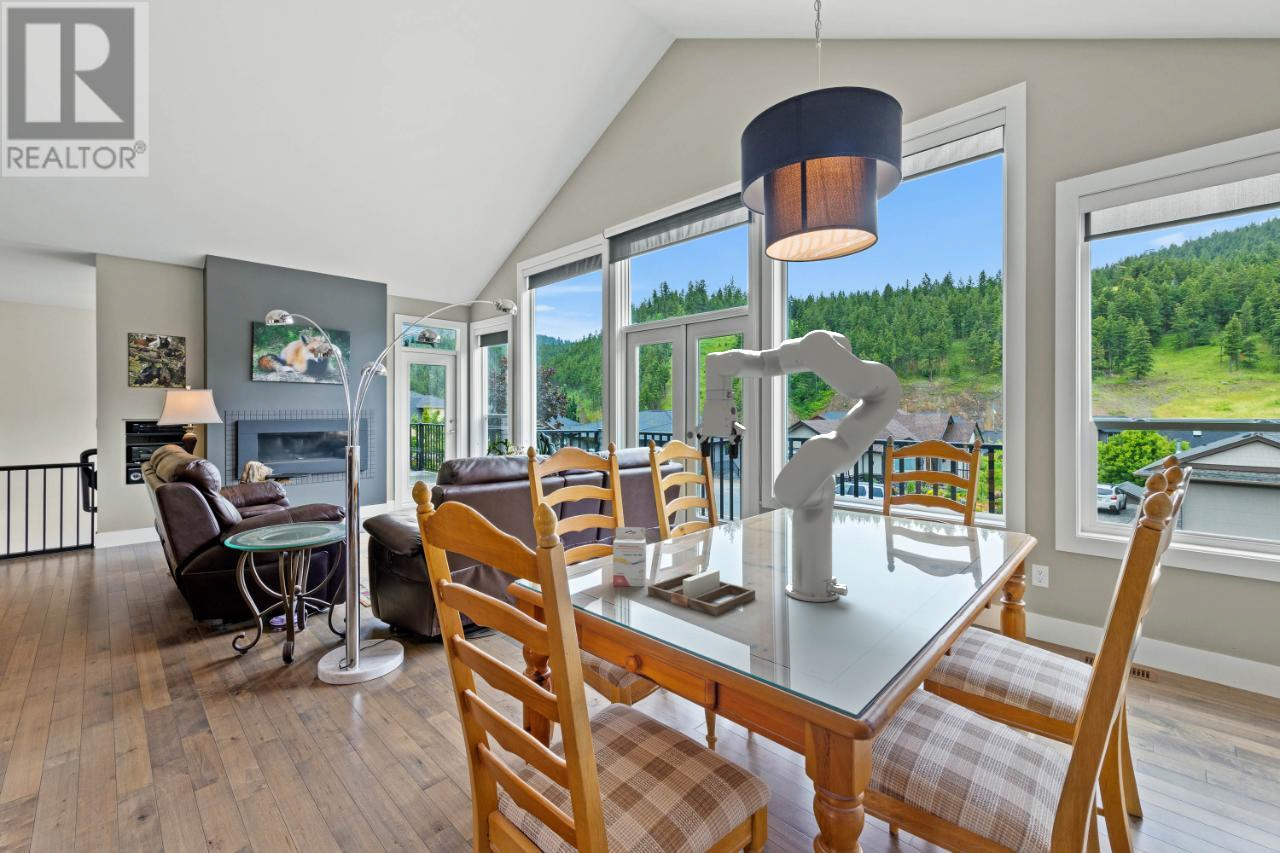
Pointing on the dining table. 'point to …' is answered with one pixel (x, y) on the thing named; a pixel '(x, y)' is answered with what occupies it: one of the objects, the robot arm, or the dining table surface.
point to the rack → (702, 595)
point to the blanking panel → (701, 583)
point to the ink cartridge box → (629, 557)
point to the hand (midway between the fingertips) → (719, 457)
